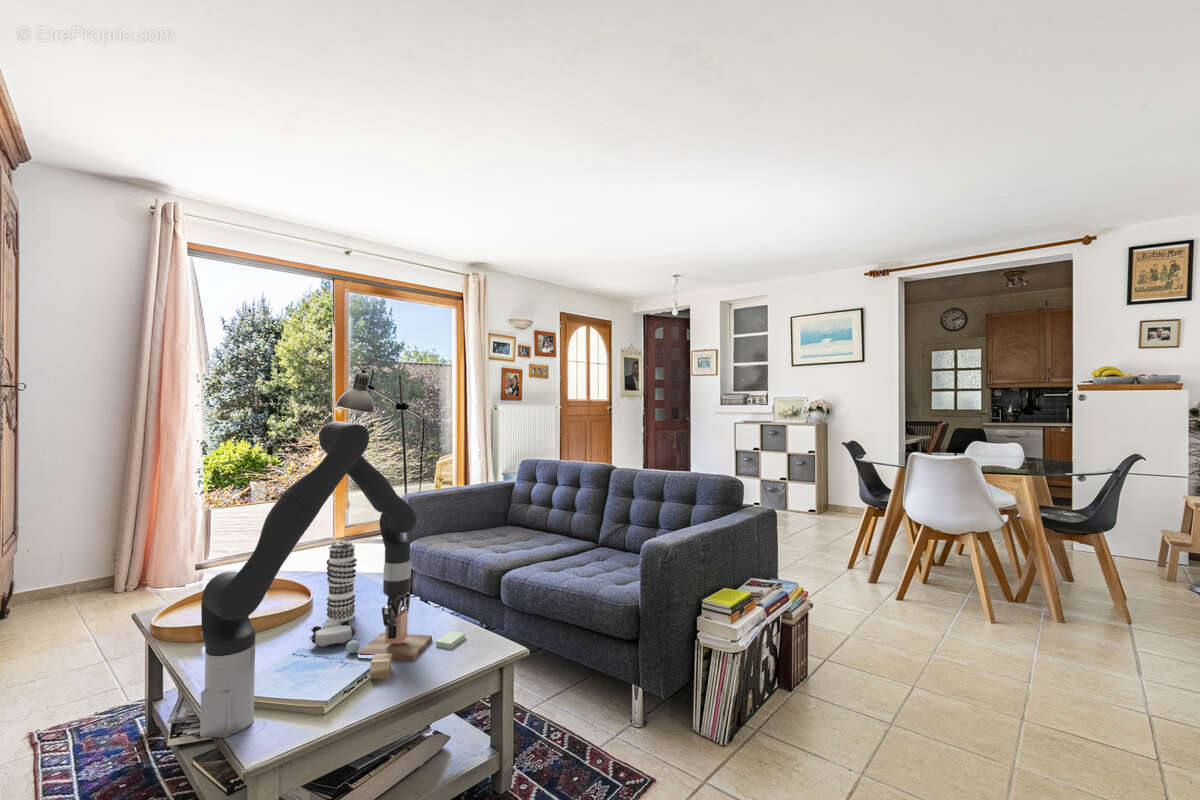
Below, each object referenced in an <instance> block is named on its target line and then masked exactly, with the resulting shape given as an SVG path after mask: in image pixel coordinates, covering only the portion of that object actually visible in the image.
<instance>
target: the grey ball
mask: <svg viewBox="0 0 1200 800" xmlns="http://www.w3.org/2000/svg"><path fill="white" fill-rule="evenodd" d="M360 648H361V646H360V643H359V640H356V639H355V640H354V639H352V640H350V641H347V644H346V646H345V650H346V652H347V653H348V654H349V653H354V654H357V653H358V652H359V651H360Z"/></svg>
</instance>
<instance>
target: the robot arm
mask: <svg viewBox="0 0 1200 800" xmlns="http://www.w3.org/2000/svg"><path fill="white" fill-rule="evenodd" d="M318 435H319V436H318V442H319V445H320V447H321V449H322V450H323V452H325V453H326V455H325V457H324V458H323V459H322V460H321V462H320V463H319V464H318V465H317V466H316V467H315V468H314V469H312V470H311V471H310V472H308V473H306V474H305V475H304V476H302V477H301V478H299V479H298V480H297V481H295V482H294V483H293V484H292V485H290V486H289V487H287V489H285V491H284V492H283V493H282V494H281V495H280V497H279V498H278V499H277V501H276V502H275V504H274V505H273V507H272V508H271V509H270V510H269V512H268V513H267V516H266V518H265V520H264V523H263V526H262V529H261V531H260V535H259V539H258V541H257V544H256V546H255V549H254V550H253V552H252V554H251V556H250V557H249V558H248V559H247V561H246V562H245V563H244V565H243V566H242V567H241V568H240V570H239V571H238V572H237V571H225V572H221V573H219V574H217V575H215V576H214V577H213V578H211V579H210V580H209V581H208V582H207V583H206V586H205V588H204V589H203V591H202V596H201V605H200V606H201V612H200V613H201V614H200V615H201V616H200V617H201V635H202V639H203V643H204V646H205V652H204V654H205V655H204V656H205V657H204V689H203V690H201V692H200V716H199V717H200V719H199V720H200V721H199V727H200V728H199V736H200V737H206V738H207V737H209V738H221V739H225V738H226V739H227V738H229V737H230V736H232V735H234V734H236V733H239V732H241V731H244V730H245V729H247V728H249V726H250V725H251V724H252V723H253V722H254V718H255V715H254V714H255V678H256V677H255V676H256V675H255V673H256V672H255V671H256V670H255V669H256V665H255V664H256V631H255V629H254V626H253V625H252V623H251V622H250V618H249V616H251V614H253V613H254V612H255V611H256V610H257V609H258V608H259V606H260V604H261V603H262V601H263V600H264V598H265V596H266V595H267V593H268V591H269V590H270V588H271V585H272V584H273V582H274V580H275V578H276V576H277V575H278V573H279V572H280V569H281V567H282V566H283V565H284V563H285V561H286V560H287V558H289V556H290V554H291V553H292V551H293V550H294V549H295V547H296V546H297V544H298V543H299V541H300V540H301V538H302V537H303V535H304V534H305V533H306V532H307V530H308V528H310V526H311V524H312V523H313V522H314V520H315V519H316V517H317V515H318V514H319V513H320V510H321V509H322V508H323V506H324V505H325V503H326V502H327V501H328V499H329V498H330V496H331V495H332V493H333V492H334V491H335V490H336V488H337V487H338V485H339V484H340V483H341V481H342V480H343V478H344V477H345V476H346V475H348V476H349V477H350V478H351V480H352V481H353V482H354V483H355V484H356V486H357V487H358V488H359V489H360V491H361V493H363V495H364V496H365V497H366V499H367V500H368V502H369V503H370V504H371V506H372V508H373V509H374V510H375V511H377V512H378V513H380V516H379V529H380V534H381V537H382V541H383V542H382V543H383V544H384V563H383V565H384V566H383V577H382V578H383V582H382V584H383V586H382V587H383V588H382V592H383V594H384V595H385V596H387V604H386V606H383V607H382V608H381V614H382V621H383V626H384V627H386V626H388V638H389V639H395V638H396V628H397V617H398V616H399V615H400V610H401V611H405V610H408V612H409V609H410V602H411V592H410V591H411V584H412V583H411V582H412V581H411V580H412V579H411V578H412V576H411V575H412V565H411V543H410V541H409V540H408V539H406V538H404V537H403V535H402V534H407V533H410V532H411V531H413V530H414V528H416V525H417V520H418V519H417V514H416V511H415V510H414V508H413V507H411V506H410V504H408V503H407V502H406V501H405V500H404V499H403V498H402V497H400V496H399V495H398V494H397V492H396V491H395V489H394V488H393V486H392V485H391V483H390V482H389V480H388V479H387V478H386V477H385V476H384V475H383V473H381V472H380V471H379V470H378V469H377V468H376V467H375V466H374V465H372V464H371V463H370V462H369V461H368V460H367V459H366V458H365V457H364V453H365V451H366V450H367V448H368V445H369V442H370V433H369V431H368V429H367V427H365V426H364V425H362V424H360V423H356V422H355V423H354V422H348V421H338V420H336V421H335V420H334V421H330V422H327V424H324V426H323V427H322V428H321V429H320V432H319V434H318ZM393 613H396V614H393ZM393 617H394V619H393Z"/></svg>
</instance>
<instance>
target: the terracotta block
mask: <svg viewBox="0 0 1200 800" xmlns="http://www.w3.org/2000/svg"><path fill="white" fill-rule="evenodd" d="M393 614H396V613H393ZM408 615H409V611H408V610H405V611H401V610H400V615H399V616H398V617H397V628H396V638H395V639H389V638H388V626H385V630H384V631H385V632H384V633H385V643H395V644H401V643H402V642H403V641H404V640H405V639H406V638H407V634H408V617H409V616H408ZM393 619H394V617H393Z"/></svg>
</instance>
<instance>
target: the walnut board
mask: <svg viewBox="0 0 1200 800" xmlns="http://www.w3.org/2000/svg"><path fill="white" fill-rule="evenodd" d="M432 641H433V635H430V634H410V633H407V638H406V639H405V640H404V641H403V642H402V643H401V644H395V643H385V632H381V633H380V634H378V635H377V636H376V637H375V638H374V639H372V640H371V641H370V642H368V644H367V645H365V646H363V647H362V648H361V650H358V651H357V652H356V654H360V655H376V654H392V662H393V661H396V662H414V660H416V658H417V657H418V656H419V655H420V654H421V653H422V652H423V651H424V650H425V648H426V647H427V646H429V644H430V643H431V642H432Z"/></svg>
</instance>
